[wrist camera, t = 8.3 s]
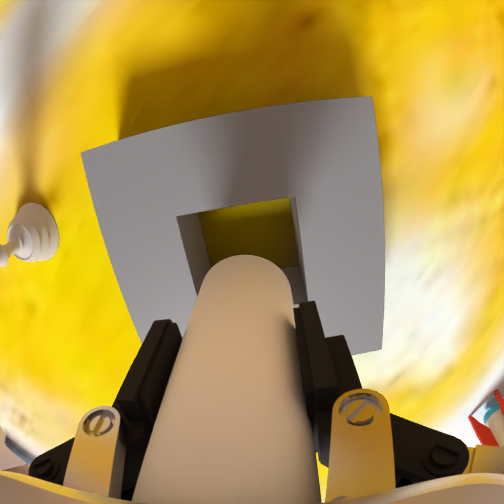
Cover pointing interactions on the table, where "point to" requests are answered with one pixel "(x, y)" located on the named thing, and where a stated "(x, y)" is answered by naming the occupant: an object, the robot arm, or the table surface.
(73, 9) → the table surface
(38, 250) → the chalice
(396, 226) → the table surface
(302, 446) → the peg
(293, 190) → the socket block
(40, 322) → the table surface
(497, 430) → the toy rocket
